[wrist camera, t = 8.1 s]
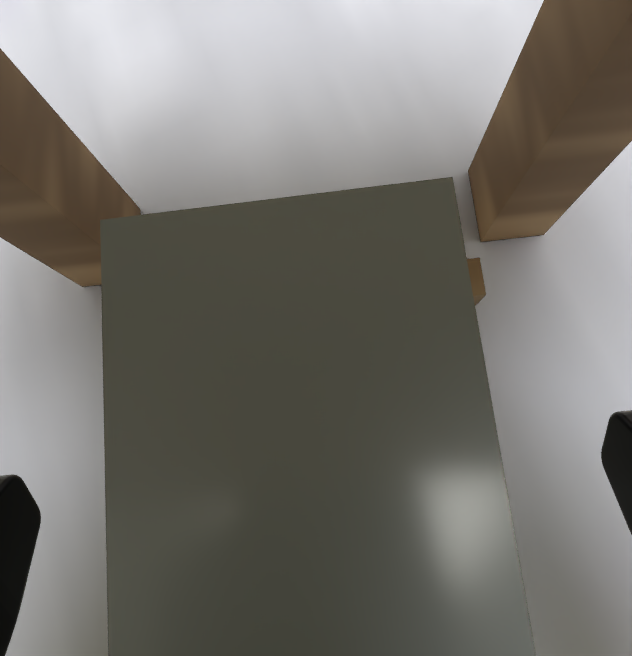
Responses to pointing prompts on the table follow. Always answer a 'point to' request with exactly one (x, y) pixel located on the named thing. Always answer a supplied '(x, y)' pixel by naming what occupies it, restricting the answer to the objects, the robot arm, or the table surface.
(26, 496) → the robot arm
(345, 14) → the table surface
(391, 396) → the slab
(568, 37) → the wooden frame
